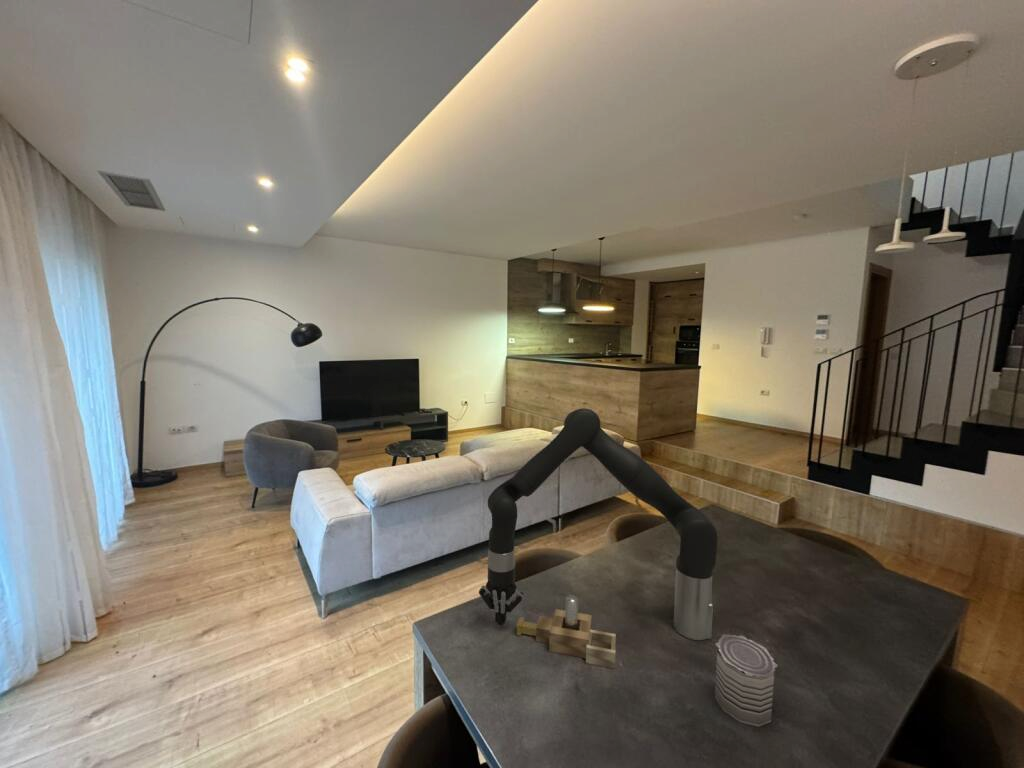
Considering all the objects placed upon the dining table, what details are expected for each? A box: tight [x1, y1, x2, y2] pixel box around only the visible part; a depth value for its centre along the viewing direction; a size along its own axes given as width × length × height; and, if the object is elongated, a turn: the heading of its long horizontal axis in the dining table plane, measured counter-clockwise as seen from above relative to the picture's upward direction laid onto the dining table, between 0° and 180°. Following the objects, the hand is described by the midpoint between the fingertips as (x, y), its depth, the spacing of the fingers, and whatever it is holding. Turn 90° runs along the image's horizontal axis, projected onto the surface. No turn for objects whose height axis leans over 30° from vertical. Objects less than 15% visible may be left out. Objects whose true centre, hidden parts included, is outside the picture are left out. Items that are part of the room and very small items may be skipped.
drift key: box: [516, 616, 537, 637], centre depth 111 cm, size 8×4×3 cm, turn 75°
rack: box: [585, 628, 617, 669], centre depth 103 cm, size 7×7×4 cm
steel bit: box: [564, 594, 579, 630], centre depth 108 cm, size 3×3×12 cm
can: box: [714, 633, 779, 728], centre depth 89 cm, size 11×11×12 cm
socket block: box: [535, 608, 593, 659], centre depth 109 cm, size 14×10×5 cm
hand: (500, 623), depth 113 cm, fingers closed
